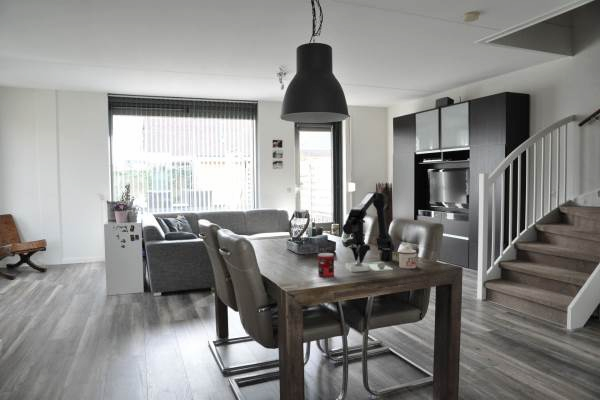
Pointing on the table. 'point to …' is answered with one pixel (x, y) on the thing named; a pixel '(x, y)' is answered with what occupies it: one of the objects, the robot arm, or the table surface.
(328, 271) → the canned food
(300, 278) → the table surface
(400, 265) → the teacup with lid
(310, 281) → the table surface
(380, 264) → the pebble
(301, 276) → the table surface
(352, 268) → the open box
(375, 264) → the tray
